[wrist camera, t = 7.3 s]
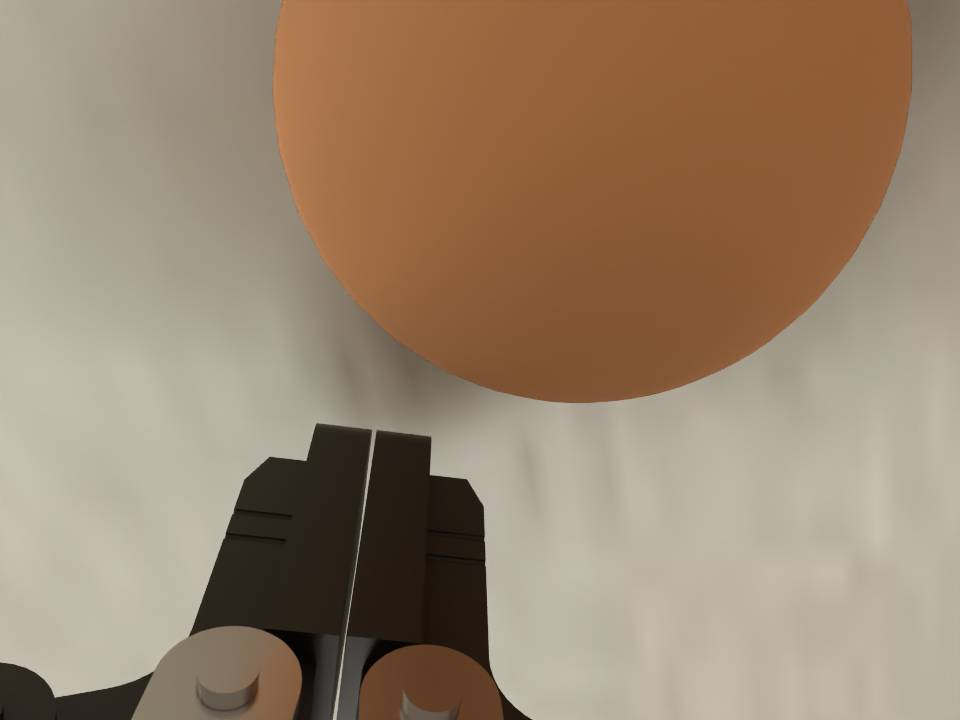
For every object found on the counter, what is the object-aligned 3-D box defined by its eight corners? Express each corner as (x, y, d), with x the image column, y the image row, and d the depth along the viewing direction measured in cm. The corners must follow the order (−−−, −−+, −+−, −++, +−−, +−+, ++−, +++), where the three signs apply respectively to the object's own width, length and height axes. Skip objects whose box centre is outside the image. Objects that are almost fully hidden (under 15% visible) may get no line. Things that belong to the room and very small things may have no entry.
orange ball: (708, 507, 10) (607, 147, 13) (1216, 198, 6) (909, -239, 9) (210, 486, 8) (215, 48, 10) (480, -53, 4) (373, -549, 6)
